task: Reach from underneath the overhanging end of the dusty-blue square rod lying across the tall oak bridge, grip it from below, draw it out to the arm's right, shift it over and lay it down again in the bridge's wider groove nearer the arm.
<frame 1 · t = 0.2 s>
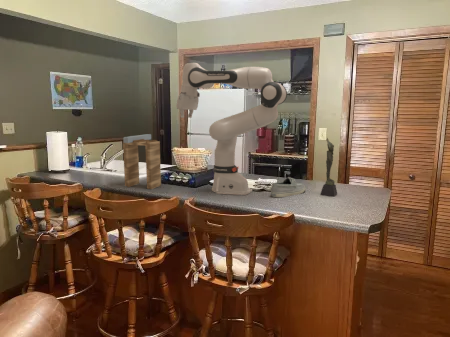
hand: (186, 117, 202), 40 cm above the table, tool pointing down, fingers open, 8 cm apart
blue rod: (138, 140, 210), point 26 cm above the table, touching oak bridge
oak bridge: (143, 185, 210), on the table
boat shoe: (289, 194, 193), on the table
statue: (328, 194, 192), on the table
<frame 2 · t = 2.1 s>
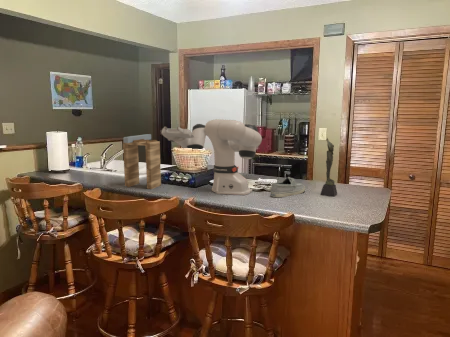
hand: (171, 127, 228), 32 cm above the table, tool pointing upward, fingers open, 8 cm apart
nothing on the table moved.
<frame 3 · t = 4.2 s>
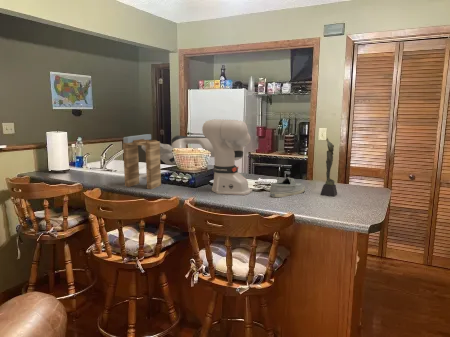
hand: (151, 142, 223), 23 cm above the table, tool pointing upward, fingers open, 8 cm apart
nothing on the table moved.
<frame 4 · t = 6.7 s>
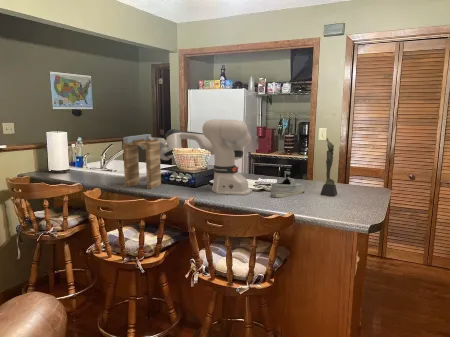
hand: (144, 136, 215), 28 cm above the table, tool pointing upward, fingers closed on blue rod, 3 cm apart
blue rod: (138, 140, 210), point 26 cm above the table, touching gripper, oak bridge
everything else where it was.
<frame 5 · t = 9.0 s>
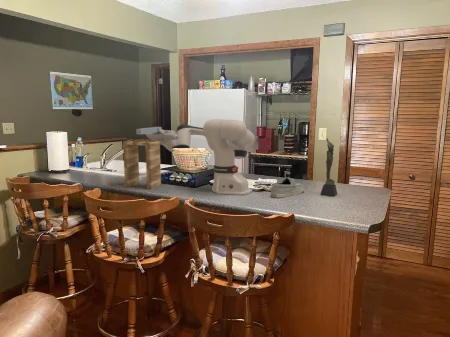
hand: (155, 129, 223), 32 cm above the table, tool pointing upward, fingers closed on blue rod, 3 cm apart
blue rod: (149, 133, 217), point 30 cm above the table, touching gripper
everything else where it was.
when the fingers open (29 cm above the table, at t = 11.6 s): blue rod drops 1 cm, resting on oak bridge.
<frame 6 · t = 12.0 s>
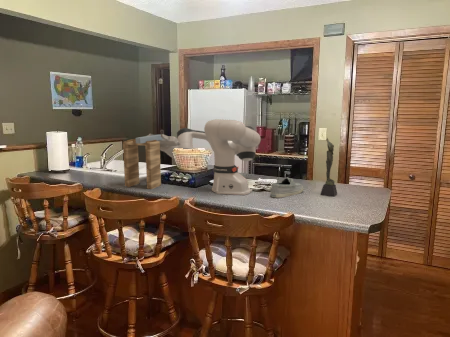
hand: (156, 134, 212), 29 cm above the table, tool pointing upward, fingers open, 7 cm apart
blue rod: (149, 141, 207), point 26 cm above the table, touching oak bridge
everything else where it was.
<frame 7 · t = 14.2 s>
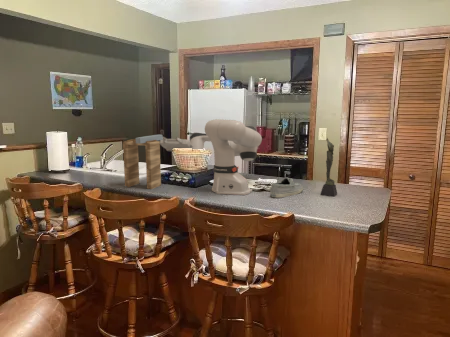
hand: (170, 138, 226), 26 cm above the table, tool pointing upward, fingers open, 8 cm apart
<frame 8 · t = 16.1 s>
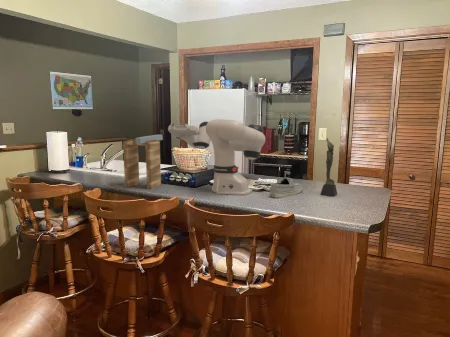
hand: (178, 124, 228), 34 cm above the table, tool pointing upward, fingers open, 8 cm apart
at the end: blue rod inside the target area on the oak bridge (0.1 cm from its centre), point 26.0 cm above the oak bridge's base; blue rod tilted 0°; the gripper is holding nothing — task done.
